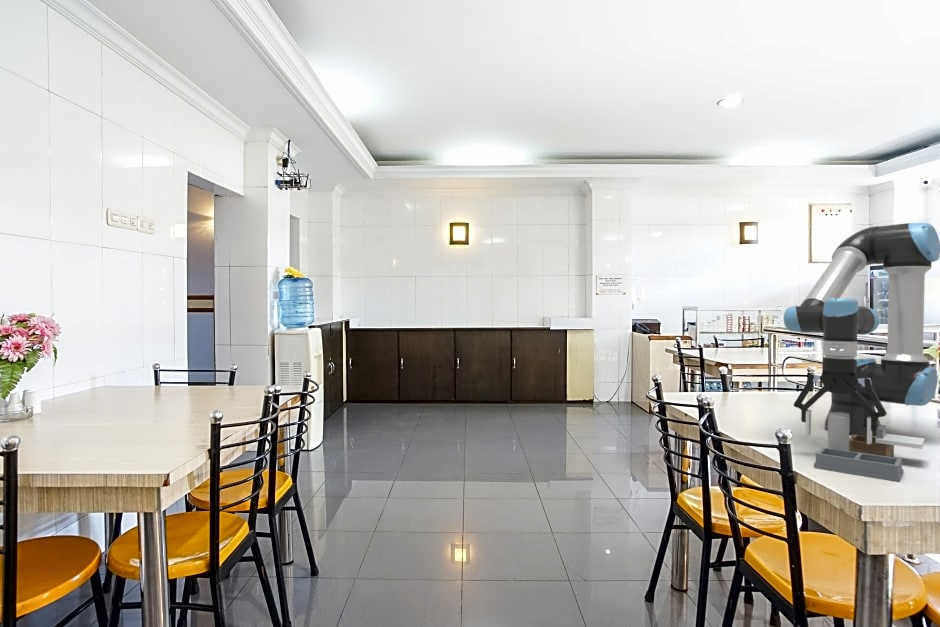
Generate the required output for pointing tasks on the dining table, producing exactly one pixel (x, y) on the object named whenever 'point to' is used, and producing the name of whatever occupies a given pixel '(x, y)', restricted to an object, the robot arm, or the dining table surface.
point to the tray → (870, 446)
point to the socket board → (860, 464)
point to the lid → (897, 439)
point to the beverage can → (838, 430)
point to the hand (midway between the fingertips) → (837, 439)
